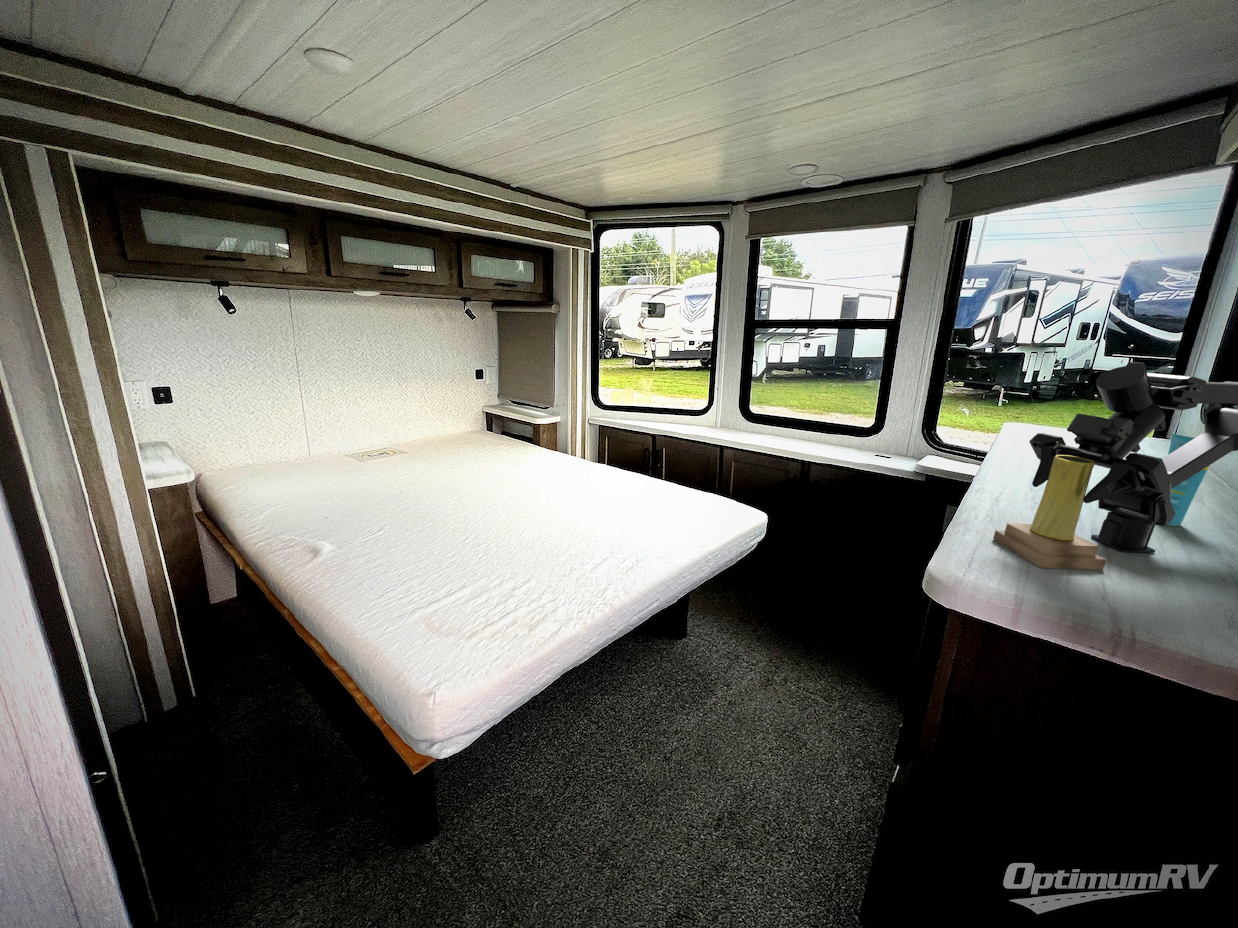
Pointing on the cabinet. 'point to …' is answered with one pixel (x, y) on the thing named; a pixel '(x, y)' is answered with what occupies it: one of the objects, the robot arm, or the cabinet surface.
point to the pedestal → (1050, 549)
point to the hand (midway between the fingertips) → (1057, 493)
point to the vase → (1063, 498)
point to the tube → (1183, 485)
